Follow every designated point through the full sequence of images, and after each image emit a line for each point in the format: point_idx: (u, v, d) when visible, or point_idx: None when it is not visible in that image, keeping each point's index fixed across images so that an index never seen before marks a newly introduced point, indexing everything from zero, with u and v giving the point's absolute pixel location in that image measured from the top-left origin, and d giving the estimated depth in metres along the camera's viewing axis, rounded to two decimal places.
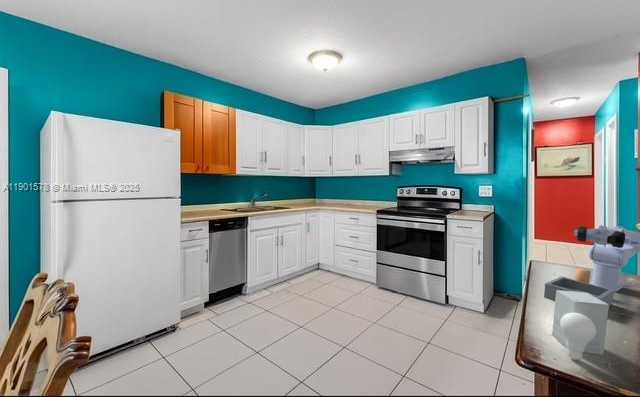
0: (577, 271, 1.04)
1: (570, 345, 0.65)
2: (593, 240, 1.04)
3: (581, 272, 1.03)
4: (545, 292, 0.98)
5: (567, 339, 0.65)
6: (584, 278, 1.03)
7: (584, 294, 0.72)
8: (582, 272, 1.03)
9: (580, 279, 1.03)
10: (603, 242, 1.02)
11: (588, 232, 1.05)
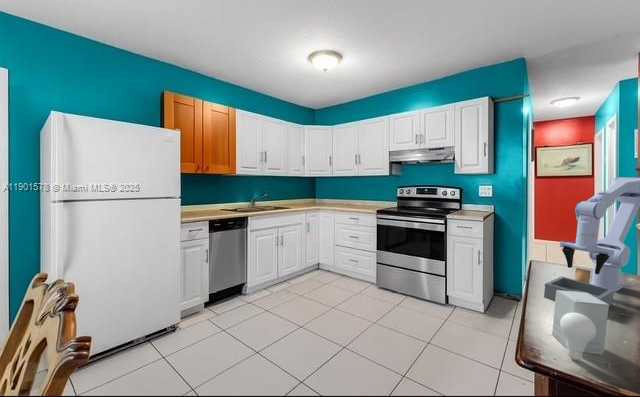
0: (577, 271, 1.04)
1: (570, 345, 0.65)
2: None
3: (581, 272, 1.03)
4: (545, 292, 0.98)
5: (567, 339, 0.65)
6: (584, 278, 1.03)
7: (584, 294, 0.72)
8: (582, 272, 1.03)
9: (580, 279, 1.03)
10: None
11: None
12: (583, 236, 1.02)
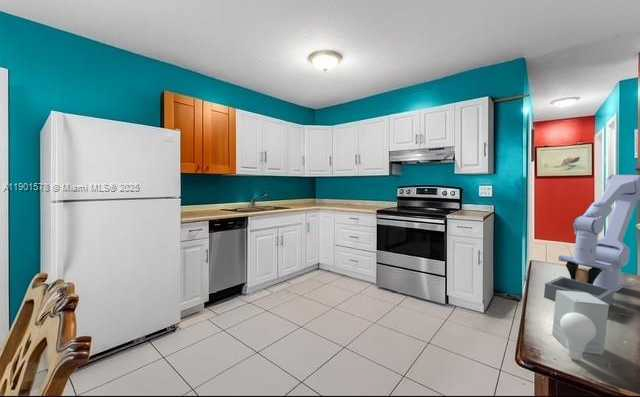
0: (577, 271, 1.04)
1: (570, 345, 0.65)
2: None
3: (581, 272, 1.03)
4: (545, 292, 0.98)
5: (567, 339, 0.65)
6: (584, 278, 1.03)
7: (584, 294, 0.72)
8: (582, 272, 1.03)
9: (580, 279, 1.03)
10: None
11: None
12: (581, 251, 1.02)
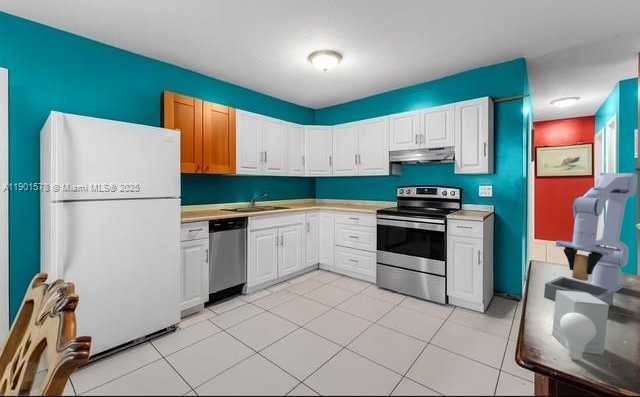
0: (576, 257, 0.96)
1: (570, 345, 0.65)
2: None
3: (580, 257, 0.95)
4: (545, 292, 0.98)
5: (567, 339, 0.65)
6: (583, 264, 0.94)
7: (584, 294, 0.72)
8: (581, 257, 0.95)
9: (579, 265, 0.95)
10: None
11: None
12: (580, 235, 0.94)
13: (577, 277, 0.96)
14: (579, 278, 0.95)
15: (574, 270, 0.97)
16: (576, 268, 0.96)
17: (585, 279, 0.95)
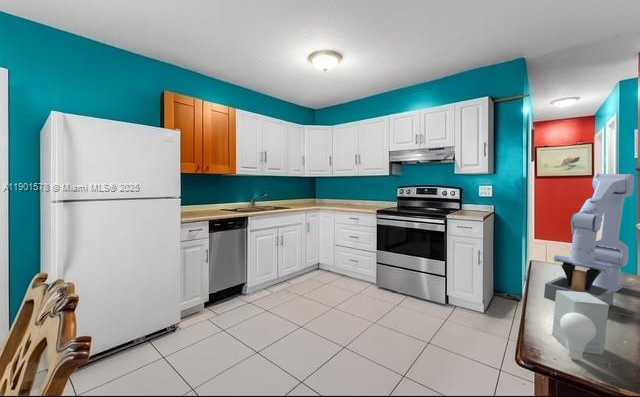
0: (574, 272, 0.96)
1: (570, 345, 0.65)
2: None
3: (578, 273, 0.94)
4: (545, 292, 0.98)
5: (567, 339, 0.65)
6: (581, 280, 0.94)
7: (584, 294, 0.72)
8: (579, 273, 0.94)
9: (577, 281, 0.95)
10: None
11: None
12: (578, 251, 0.94)
13: None
14: None
15: (572, 286, 0.96)
16: (574, 284, 0.96)
17: None
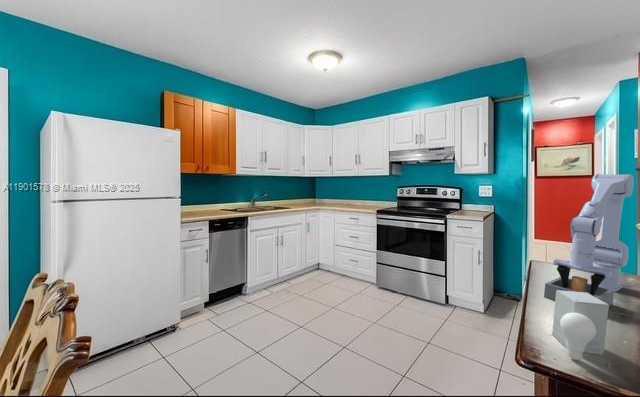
0: (573, 279, 0.96)
1: (570, 345, 0.65)
2: None
3: (577, 280, 0.95)
4: (545, 292, 0.98)
5: (567, 339, 0.65)
6: (581, 287, 0.94)
7: (584, 294, 0.72)
8: (578, 280, 0.94)
9: (576, 288, 0.95)
10: None
11: None
12: (578, 255, 0.94)
13: None
14: None
15: None
16: None
17: None
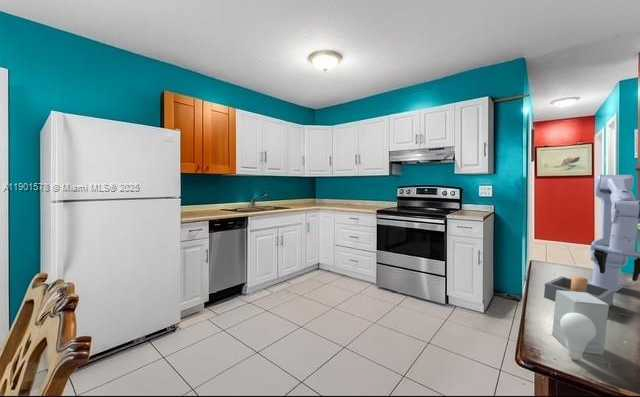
0: (573, 279, 0.96)
1: (570, 345, 0.65)
2: None
3: (577, 280, 0.95)
4: (545, 292, 0.98)
5: (567, 339, 0.65)
6: (581, 287, 0.94)
7: (584, 294, 0.72)
8: (579, 280, 0.94)
9: (576, 288, 0.95)
10: None
11: None
12: (619, 239, 0.92)
13: None
14: None
15: None
16: None
17: None
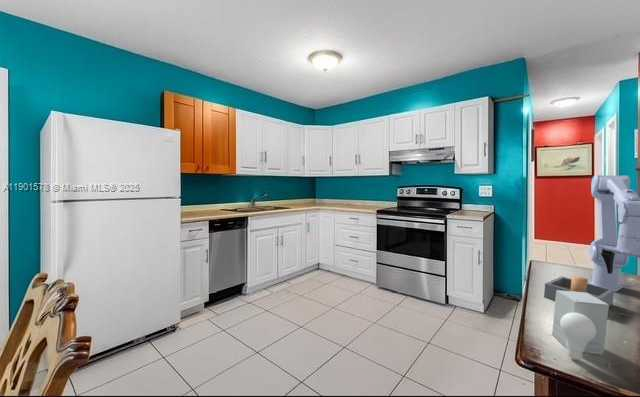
0: (573, 279, 0.96)
1: (570, 345, 0.65)
2: None
3: (577, 280, 0.95)
4: (545, 292, 0.98)
5: (567, 339, 0.65)
6: (581, 287, 0.94)
7: (584, 294, 0.72)
8: (579, 280, 0.94)
9: (576, 288, 0.95)
10: None
11: None
12: (627, 239, 0.92)
13: None
14: None
15: None
16: None
17: None
